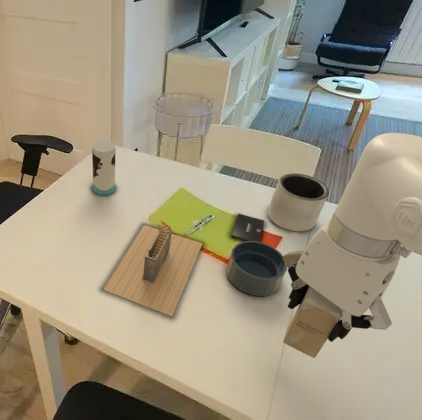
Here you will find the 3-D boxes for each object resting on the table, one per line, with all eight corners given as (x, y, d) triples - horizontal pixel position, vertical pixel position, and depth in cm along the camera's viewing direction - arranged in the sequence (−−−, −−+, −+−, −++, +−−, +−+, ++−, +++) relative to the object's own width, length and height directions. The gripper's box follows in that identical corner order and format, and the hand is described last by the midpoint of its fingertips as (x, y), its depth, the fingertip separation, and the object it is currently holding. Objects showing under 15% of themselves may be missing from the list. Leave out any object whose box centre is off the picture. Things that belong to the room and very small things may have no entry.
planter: (297, 202, 110) (311, 170, 103) (324, 230, 101) (340, 197, 94) (258, 206, 109) (269, 175, 102) (281, 235, 99) (294, 202, 92)
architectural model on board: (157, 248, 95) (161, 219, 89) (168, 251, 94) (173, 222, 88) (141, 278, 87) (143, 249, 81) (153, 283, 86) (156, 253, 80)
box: (282, 343, 61) (303, 299, 54) (288, 324, 64) (309, 280, 57) (316, 360, 58) (343, 316, 52) (321, 340, 61) (348, 296, 55)
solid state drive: (263, 222, 103) (264, 220, 103) (258, 245, 96) (259, 243, 96) (237, 215, 105) (238, 213, 105) (231, 237, 98) (231, 235, 98)
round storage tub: (290, 283, 87) (298, 265, 83) (255, 305, 82) (262, 288, 78) (249, 251, 94) (255, 234, 91) (215, 270, 89) (220, 253, 86)
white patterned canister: (115, 182, 118) (115, 140, 109) (114, 195, 113) (115, 152, 104) (93, 182, 118) (92, 139, 109) (92, 194, 113) (91, 151, 104)
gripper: (456, 262, 42) (384, 351, 53) (318, 189, 54) (282, 274, 65) (424, 290, 39) (355, 378, 50) (284, 206, 51) (253, 292, 62)
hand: (314, 319), depth 57 cm, fingers closed on box, 6 cm apart
